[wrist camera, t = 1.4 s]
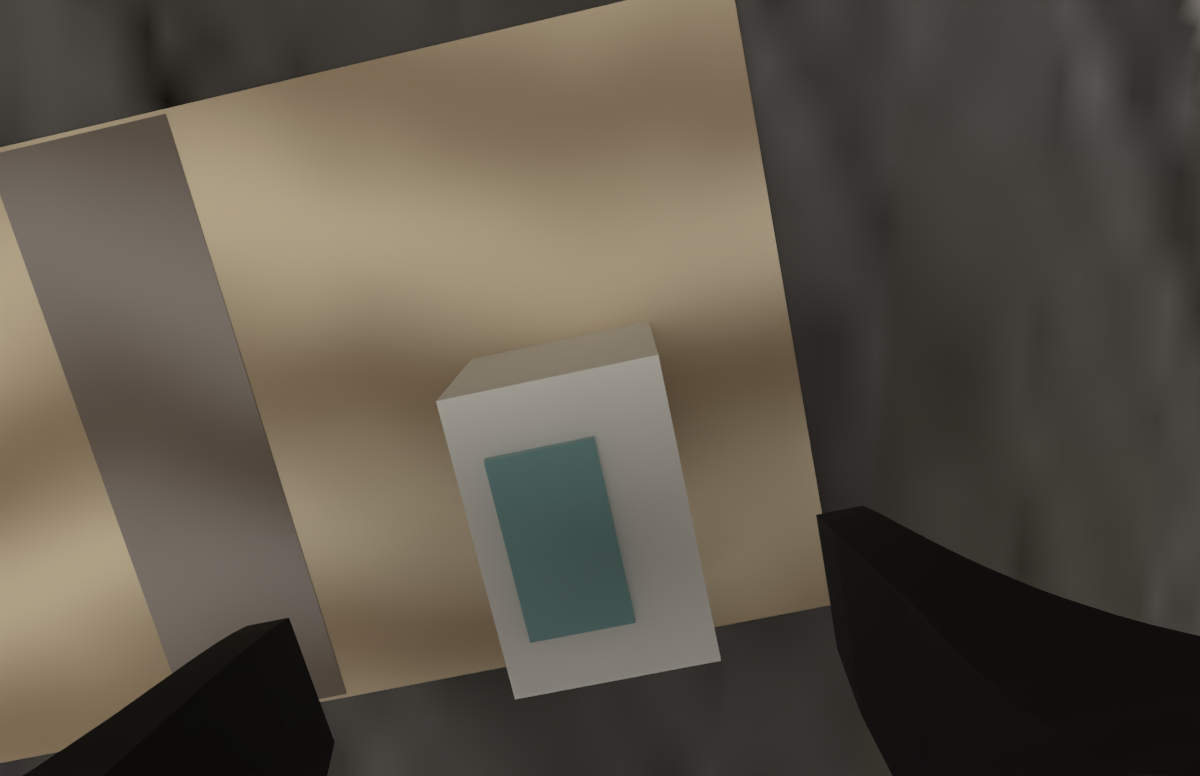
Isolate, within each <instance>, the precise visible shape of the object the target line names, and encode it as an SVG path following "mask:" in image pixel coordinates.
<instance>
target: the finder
mask: <svg viewBox="0 0 1200 776" xmlns="http://www.w3.org/2000/svg"><path fill="white" fill-rule="evenodd" d="M436 403H437V407H438V411H439V415H440V419H441V422H442V426H443V430H444V434H445V437H446V441H447V445H448V449H449V452H450V456H451V460H452V464H453V468H454V471H455V475H456V479H457V483H458V486H459V490H460V494H461V498H462V501H463V505H464V509H465V513H466V517H467V520H468V524H469V528H470V532H471V535H472V539H473V543H474V547H475V550H476V554H477V558H478V562H479V566H480V569H481V573H482V577H483V581H484V584H485V588H486V592H487V596H488V600H489V603H490V607H491V611H492V615H493V618H494V622H495V626H496V630H497V633H498V637H499V641H500V645H501V649H502V652H503V656H504V660H505V664H506V667H507V671H508V675H509V679H510V682H511V686H512V690H513V694H514V698H515V699H520V698H525V697H531V696H536V695H541V694H547V693H552V692H557V691H563V690H568V689H573V688H579V687H584V686H589V685H595V684H600V683H605V682H611V681H616V680H621V679H627V678H632V677H637V676H643V675H648V674H653V673H659V672H664V671H669V670H675V669H680V668H685V667H691V666H696V665H701V664H707V663H712V662H717V661H721V658H720V653H719V648H718V643H717V638H716V633H715V629H714V624H713V619H712V614H711V609H710V604H709V599H708V594H707V590H706V585H705V580H704V575H703V570H702V565H701V560H700V555H699V550H698V546H697V541H696V536H695V531H694V526H693V521H692V516H691V511H690V507H689V502H688V497H687V492H686V487H685V482H684V477H683V472H682V468H681V463H680V458H679V453H678V448H677V443H676V438H675V433H674V429H673V424H672V419H671V414H670V409H669V404H668V399H667V394H666V390H665V385H664V380H663V375H662V370H661V365H660V360H659V355H658V352H657V348H656V345H655V341H654V338H653V334H652V331H651V327H650V324H649V321H647V322H642V323H638V324H633V325H628V326H623V327H619V328H614V329H609V330H605V331H600V332H595V333H590V334H586V335H581V336H576V337H572V338H567V339H562V340H557V341H553V342H548V343H543V344H539V345H534V346H529V347H525V348H520V349H515V350H510V351H506V352H501V353H496V354H492V355H487V356H482V357H477V358H473V359H471V360H470V361H469V363H468V364H467V365H466V366H465V367H464V368H463V370H462V371H461V372H460V373H459V374H458V376H457V377H456V378H455V379H454V380H453V382H452V383H451V384H450V385H449V386H448V388H447V389H446V390H445V391H444V392H443V393H442V395H441V396H440V397H439V398H438V399H437V401H436Z"/></svg>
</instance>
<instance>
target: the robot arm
mask: <svg viewBox="0 0 1200 776" xmlns="http://www.w3.org/2000/svg"><path fill="white" fill-rule="evenodd" d="M816 518H817V524H818V530H819V537H820V543H821V549H822V555H823V562H824V568H825V574H826V581H827V587H828V593H829V599H830V606H831V612H832V618H833V625H834V631H835V637H836V643H837V649H838V652H839V655H840V658H841V661H842V663H843V666H844V669H845V672H846V674H847V677H848V680H849V683H850V686H851V688H852V691H853V693H854V696H855V699H856V701H857V704H858V707H859V709H860V712H861V715H862V717H863V719H864V721H865V723H866V725H867V727H868V729H869V731H870V733H871V735H872V737H873V738H874V740H875V742H876V744H877V746H878V748H879V750H880V752H881V754H882V756H883V758H884V760H885V762H886V764H887V766H888V768H889V769H890V771H891V773H892V775H893V776H1200V636H1197V635H1192V634H1188V633H1184V632H1180V631H1175V630H1171V629H1167V628H1163V627H1158V626H1154V625H1150V624H1147V623H1143V622H1139V621H1136V620H1132V619H1128V618H1125V617H1121V616H1118V615H1114V614H1111V613H1108V612H1105V611H1102V610H1099V609H1096V608H1093V607H1089V606H1086V605H1083V604H1080V603H1077V602H1074V601H1071V600H1068V599H1065V598H1062V597H1059V596H1056V595H1053V594H1051V593H1048V592H1045V591H1042V590H1040V589H1037V588H1035V587H1032V586H1030V585H1027V584H1025V583H1022V582H1020V581H1018V580H1015V579H1013V578H1010V577H1008V576H1006V575H1003V574H1001V573H998V572H996V571H994V570H991V569H989V568H987V567H985V566H982V565H980V564H978V563H976V562H974V561H971V560H969V559H967V558H965V557H963V556H961V555H959V554H957V553H955V552H953V551H951V550H949V549H947V548H945V547H943V546H941V545H939V544H937V543H935V542H933V541H931V540H929V539H927V538H925V537H923V536H921V535H919V534H917V533H915V532H913V531H912V530H910V529H908V528H906V527H904V526H902V525H900V524H898V523H896V522H895V521H893V520H891V519H889V518H887V517H885V516H883V515H881V514H879V513H877V512H875V511H873V510H871V509H869V508H867V507H864V506H859V507H854V508H849V509H844V510H839V511H834V512H829V513H823V514H818V515H816ZM333 746H334V740H333V737H332V734H331V731H330V729H329V726H328V723H327V720H326V718H325V715H324V712H323V709H322V707H321V704H320V701H319V698H318V696H317V693H316V690H315V687H314V685H313V682H312V679H311V676H310V674H309V671H308V668H307V665H306V663H305V660H304V657H303V654H302V652H301V649H300V646H299V644H298V641H297V638H296V635H295V633H294V630H293V627H292V624H291V622H290V619H289V618H284V619H279V620H274V621H269V622H264V623H259V624H253V625H248V626H245V627H243V628H242V629H240V630H238V631H236V632H234V633H232V634H230V635H229V636H227V637H225V638H224V639H222V640H220V641H219V642H217V643H216V644H214V645H213V646H211V647H210V648H208V649H207V650H205V651H204V652H202V653H201V654H199V655H198V656H196V657H195V658H193V659H192V660H190V661H189V662H188V663H186V664H185V665H183V666H182V667H180V668H179V669H178V670H176V671H175V672H173V673H172V674H171V675H169V676H168V677H166V678H165V679H164V680H162V681H161V682H159V683H158V684H156V685H155V686H154V687H152V688H151V689H149V690H148V691H147V692H145V693H144V694H142V695H141V696H140V697H138V698H137V699H135V700H134V701H133V702H131V703H130V704H128V705H127V706H126V707H124V708H123V709H121V710H120V711H119V712H117V713H116V714H114V715H113V716H111V717H110V718H109V719H107V720H106V721H104V722H103V723H101V724H100V725H98V726H97V727H95V728H94V729H92V730H91V731H89V732H88V733H86V734H85V735H83V736H82V737H80V738H79V739H77V740H76V741H74V742H73V743H72V744H70V745H69V746H67V747H66V748H64V749H63V750H61V751H60V752H58V753H57V754H55V755H54V756H52V757H51V758H49V759H48V760H46V761H45V762H43V763H42V764H40V765H39V766H37V767H36V768H34V769H33V770H31V771H30V772H28V773H27V774H25V775H23V776H327V773H328V769H329V764H330V760H331V755H332V751H333Z"/></svg>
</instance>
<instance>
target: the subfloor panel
mask: <svg viewBox="0 0 1200 776" xmlns="http://www.w3.org/2000/svg"><path fill="white" fill-rule="evenodd" d="M647 321H649V324H650V327H651V331H652V334H653V338H654V341H655V345H656V348H657V352H658V355H659V360H660V365H661V370H662V375H663V380H664V385H665V390H666V394H667V399H668V404H669V409H670V414H671V419H672V424H673V429H674V433H675V438H676V443H677V448H678V453H679V458H680V463H681V468H682V472H683V477H684V482H685V487H686V492H687V497H688V502H689V507H690V511H691V516H692V521H693V526H694V531H695V536H696V541H697V546H698V550H699V555H700V560H701V565H702V570H703V575H704V580H705V585H706V590H707V594H708V599H709V604H710V609H711V614H712V619H713V624H714V627H718V626H723V625H729V624H734V623H739V622H744V621H750V620H755V619H760V618H766V617H771V616H776V615H781V614H787V613H792V612H797V611H802V610H808V609H813V608H818V607H823V606H829V605H830V599H829V593H828V587H827V581H826V574H825V568H824V562H823V555H822V549H821V543H820V537H819V530H818V524H817V518H816V515H818V514H822V511H821V505H820V499H819V493H818V487H817V481H816V475H815V469H814V464H813V458H812V452H811V446H810V440H809V434H808V428H807V422H806V417H805V411H804V405H803V399H802V393H801V387H800V381H799V375H798V369H797V364H796V358H795V352H794V346H793V340H792V334H791V328H790V322H789V317H788V311H787V305H786V299H785V293H784V287H783V281H782V275H781V269H780V264H779V258H778V252H777V246H776V240H775V234H774V228H773V222H772V217H771V211H770V205H769V199H768V193H767V187H766V181H765V175H764V169H763V164H762V158H761V152H760V146H759V140H758V134H757V128H756V122H755V117H754V111H753V105H752V99H751V93H750V87H749V81H748V75H747V69H746V64H745V58H744V52H743V46H742V40H741V34H740V28H739V22H738V17H737V11H736V5H735V0H626V1H622V2H617V3H613V4H609V5H605V6H600V7H596V8H592V9H588V10H583V11H579V12H575V13H571V14H566V15H562V16H558V17H554V18H549V19H545V20H541V21H537V22H532V23H528V24H524V25H520V26H515V27H511V28H507V29H503V30H498V31H494V32H490V33H486V34H481V35H477V36H473V37H469V38H464V39H460V40H456V41H452V42H447V43H443V44H439V45H435V46H430V47H426V48H422V49H417V50H413V51H409V52H405V53H400V54H396V55H392V56H388V57H383V58H379V59H375V60H371V61H366V62H362V63H358V64H354V65H349V66H345V67H341V68H337V69H332V70H328V71H324V72H320V73H315V74H311V75H307V76H303V77H298V78H294V79H290V80H286V81H281V82H277V83H273V84H269V85H264V86H260V87H256V88H252V89H247V90H243V91H239V92H235V93H230V94H226V95H222V96H218V97H213V98H209V99H205V100H201V101H196V102H192V103H188V104H184V105H179V106H175V107H171V108H167V109H162V110H158V111H154V112H150V113H145V114H141V115H137V116H133V117H128V118H124V119H120V120H115V121H111V122H107V123H103V124H98V125H94V126H90V127H86V128H81V129H77V130H73V131H69V132H64V133H60V134H56V135H52V136H47V137H43V138H39V139H35V140H30V141H26V142H22V143H18V144H13V145H9V146H5V147H1V148H0V763H3V762H8V761H13V760H18V759H24V758H29V757H34V756H39V755H45V754H50V753H55V752H60V751H61V750H63V749H64V748H66V747H67V746H69V745H70V744H72V743H73V742H74V741H76V740H77V739H79V738H80V737H82V736H83V735H85V734H86V733H88V732H89V731H91V730H92V729H94V728H95V727H97V726H98V725H100V724H101V723H103V722H104V721H106V720H107V719H109V718H110V717H111V716H113V715H114V714H116V713H117V712H119V711H120V710H121V709H123V708H124V707H126V706H127V705H128V704H130V703H131V702H133V701H134V700H135V699H137V698H138V697H140V696H141V695H142V694H144V693H145V692H147V691H148V690H149V689H151V688H152V687H154V686H155V685H156V684H158V683H159V682H161V681H162V680H164V679H165V678H166V677H168V676H169V675H171V674H172V673H173V672H175V671H176V670H178V669H179V668H180V667H182V666H183V665H185V664H186V663H188V662H189V661H190V660H192V659H193V658H195V657H196V656H198V655H199V654H201V653H202V652H204V651H205V650H207V649H208V648H210V647H211V646H213V645H214V644H216V643H217V642H219V641H220V640H222V639H224V638H225V637H227V636H229V635H230V634H232V633H234V632H236V631H238V630H240V629H242V628H243V627H245V626H248V625H253V624H259V623H264V622H269V621H274V620H279V619H284V618H289V619H290V622H291V624H292V627H293V630H294V633H295V635H296V638H297V641H298V644H299V646H300V649H301V652H302V654H303V657H304V660H305V663H306V665H307V668H308V671H309V674H310V676H311V679H312V682H313V685H314V687H315V690H316V693H317V696H318V698H319V701H320V702H324V701H329V700H334V699H339V698H345V697H350V696H355V695H360V694H366V693H371V692H376V691H381V690H387V689H392V688H397V687H402V686H408V685H413V684H418V683H424V682H429V681H434V680H439V679H445V678H450V677H455V676H460V675H466V674H471V673H476V672H481V671H487V670H492V669H497V668H502V667H506V664H505V660H504V656H503V652H502V649H501V645H500V641H499V637H498V633H497V630H496V626H495V622H494V618H493V615H492V611H491V607H490V603H489V600H488V596H487V592H486V588H485V584H484V581H483V577H482V573H481V569H480V566H479V562H478V558H477V554H476V550H475V547H474V543H473V539H472V535H471V532H470V528H469V524H468V520H467V517H466V513H465V509H464V505H463V501H462V498H461V494H460V490H459V486H458V483H457V479H456V475H455V471H454V468H453V464H452V460H451V456H450V452H449V449H448V445H447V441H446V437H445V434H444V430H443V426H442V422H441V419H440V415H439V411H438V407H437V403H436V401H437V399H438V398H439V397H440V396H441V395H442V393H443V392H444V391H445V390H446V389H447V388H448V386H449V385H450V384H451V383H452V382H453V380H454V379H455V378H456V377H457V376H458V374H459V373H460V372H461V371H462V370H463V368H464V367H465V366H466V365H467V364H468V363H469V361H470V360H471V359H473V358H477V357H482V356H487V355H492V354H496V353H501V352H506V351H510V350H515V349H520V348H525V347H529V346H534V345H539V344H543V343H548V342H553V341H557V340H562V339H567V338H572V337H576V336H581V335H586V334H590V333H595V332H600V331H605V330H609V329H614V328H619V327H623V326H628V325H633V324H638V323H642V322H647Z"/></svg>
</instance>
